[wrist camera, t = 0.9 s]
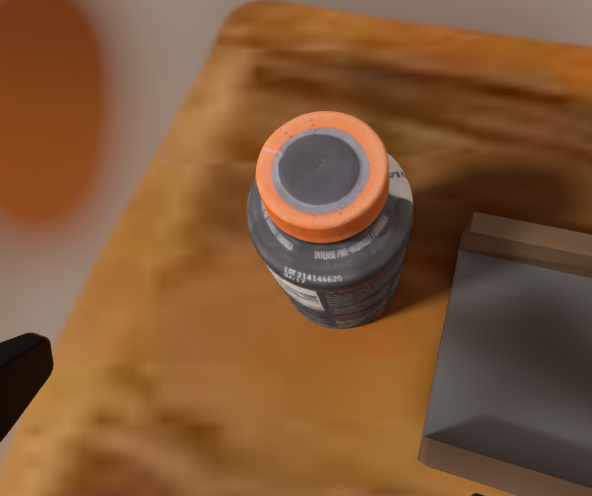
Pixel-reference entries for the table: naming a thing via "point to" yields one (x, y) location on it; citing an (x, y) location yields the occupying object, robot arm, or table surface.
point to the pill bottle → (331, 217)
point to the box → (516, 361)
